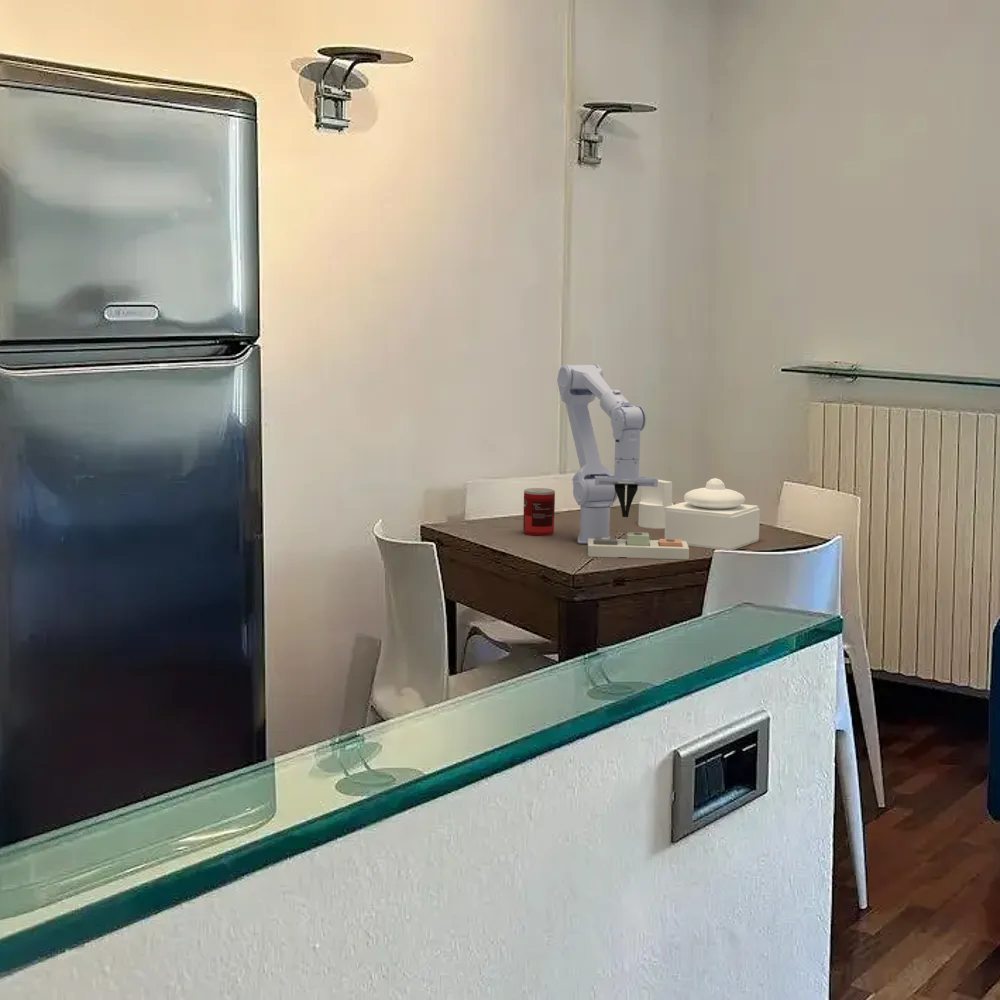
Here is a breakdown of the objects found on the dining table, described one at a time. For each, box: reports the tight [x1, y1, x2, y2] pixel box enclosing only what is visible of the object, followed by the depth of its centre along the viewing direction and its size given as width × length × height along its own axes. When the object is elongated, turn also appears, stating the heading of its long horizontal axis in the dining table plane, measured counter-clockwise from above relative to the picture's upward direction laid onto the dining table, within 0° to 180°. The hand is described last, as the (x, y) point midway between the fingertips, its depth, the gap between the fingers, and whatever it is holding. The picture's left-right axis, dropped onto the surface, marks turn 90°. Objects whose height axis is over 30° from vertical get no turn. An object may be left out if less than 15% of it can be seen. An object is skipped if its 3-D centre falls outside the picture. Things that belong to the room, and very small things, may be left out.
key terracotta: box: [658, 538, 682, 547], centre depth 317 cm, size 5×5×3 cm
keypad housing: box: [587, 538, 690, 560], centre depth 317 cm, size 10×23×2 cm, turn 86°
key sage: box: [626, 531, 650, 546], centre depth 317 cm, size 5×5×3 cm
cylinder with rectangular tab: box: [637, 479, 675, 530], centre depth 358 cm, size 9×9×12 cm
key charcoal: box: [595, 536, 617, 545], centre depth 318 cm, size 5×5×3 cm
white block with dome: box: [664, 477, 761, 551], centre depth 335 cm, size 18×18×16 cm
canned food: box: [522, 487, 556, 537], centre depth 343 cm, size 8×8×11 cm
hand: (625, 516), depth 319 cm, fingers closed
